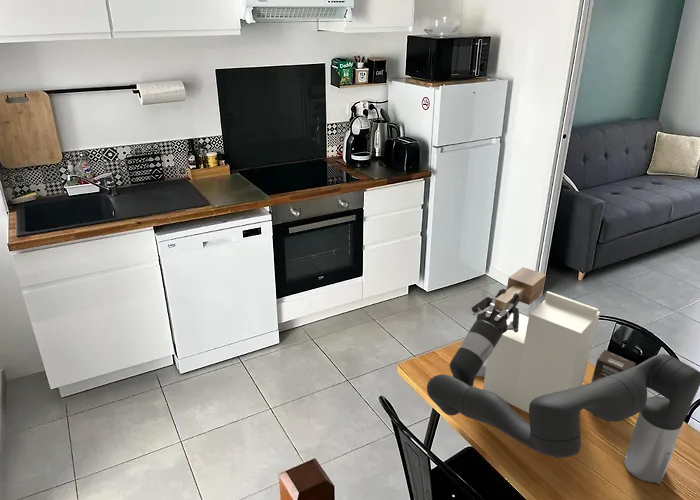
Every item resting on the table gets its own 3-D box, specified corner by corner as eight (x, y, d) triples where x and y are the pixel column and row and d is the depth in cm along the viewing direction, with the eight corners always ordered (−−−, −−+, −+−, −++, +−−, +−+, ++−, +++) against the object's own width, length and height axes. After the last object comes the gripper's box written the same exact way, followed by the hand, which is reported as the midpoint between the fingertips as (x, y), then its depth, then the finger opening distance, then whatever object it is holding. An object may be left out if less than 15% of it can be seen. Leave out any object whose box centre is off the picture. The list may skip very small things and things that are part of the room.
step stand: (577, 403, 161) (602, 304, 146) (558, 428, 152) (583, 325, 137) (504, 368, 175) (519, 275, 161) (482, 390, 166) (497, 293, 151)
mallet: (542, 293, 155) (546, 274, 152) (510, 320, 141) (513, 300, 138) (519, 285, 159) (522, 267, 156) (486, 310, 145) (489, 291, 143)
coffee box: (584, 402, 162) (595, 358, 155) (592, 391, 166) (603, 348, 159) (616, 417, 156) (629, 372, 149) (623, 406, 160) (636, 362, 153)
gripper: (503, 346, 132) (535, 293, 138) (453, 324, 140) (486, 275, 147) (506, 360, 137) (537, 309, 144) (458, 339, 146) (489, 291, 152)
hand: (511, 292), depth 145 cm, fingers closed on mallet, 3 cm apart
